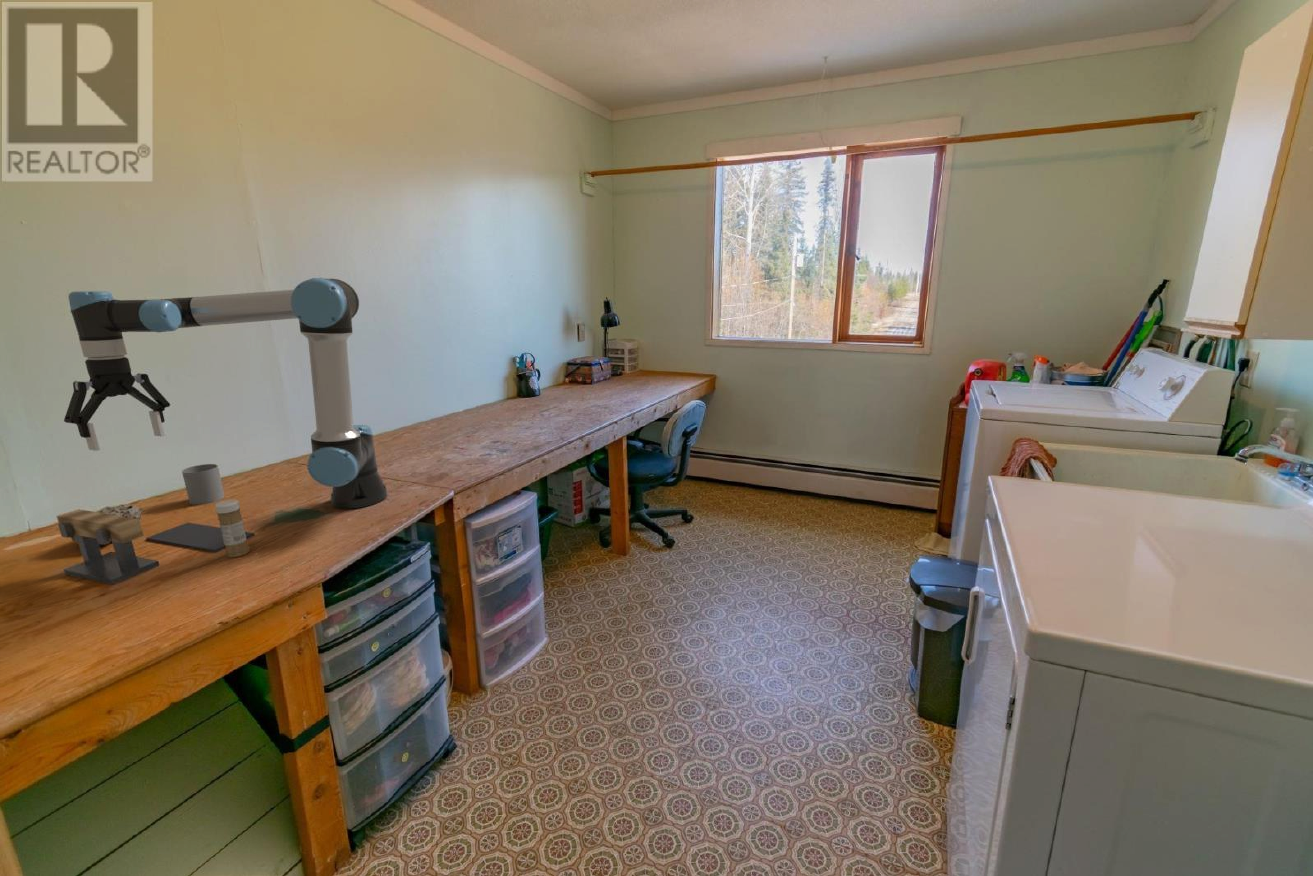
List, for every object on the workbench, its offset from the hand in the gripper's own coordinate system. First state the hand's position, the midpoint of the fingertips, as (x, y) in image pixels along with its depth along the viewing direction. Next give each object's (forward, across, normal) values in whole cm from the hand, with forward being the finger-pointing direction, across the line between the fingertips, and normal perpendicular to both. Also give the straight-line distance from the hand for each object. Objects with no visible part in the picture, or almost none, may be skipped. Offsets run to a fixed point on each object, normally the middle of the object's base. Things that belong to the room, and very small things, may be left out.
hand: (128, 442), depth 138 cm
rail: (+16, +15, +13) cm, 26 cm away
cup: (+25, -22, -12) cm, 36 cm away
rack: (+25, +15, +13) cm, 32 cm away
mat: (+25, -3, +14) cm, 29 cm away
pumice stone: (+25, +5, -6) cm, 27 cm away
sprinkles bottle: (+25, 0, +32) cm, 41 cm away
